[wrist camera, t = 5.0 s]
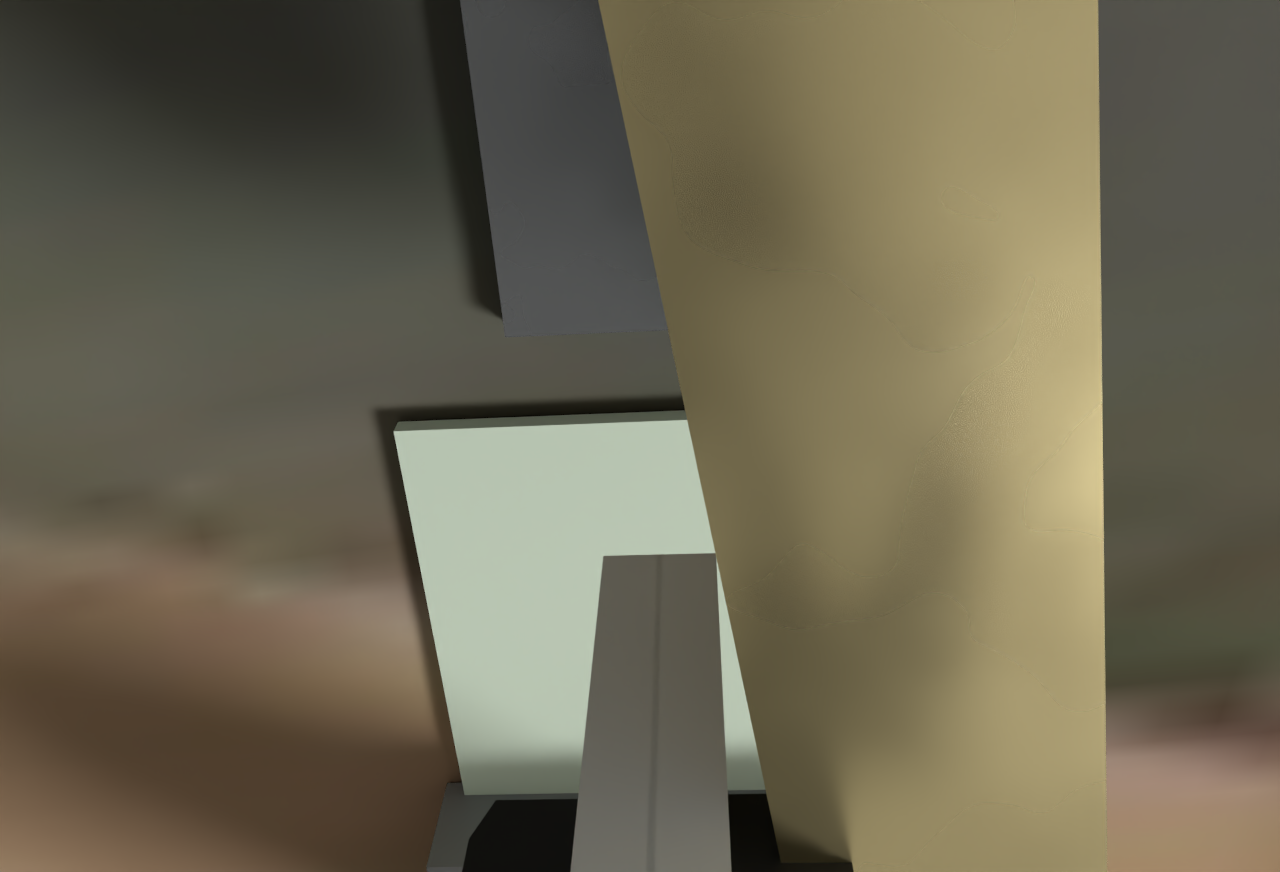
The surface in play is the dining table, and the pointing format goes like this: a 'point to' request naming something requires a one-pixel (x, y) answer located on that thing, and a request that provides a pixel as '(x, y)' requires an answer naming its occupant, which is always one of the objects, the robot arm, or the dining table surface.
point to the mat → (547, 576)
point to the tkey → (893, 404)
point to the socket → (476, 822)
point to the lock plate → (558, 171)
